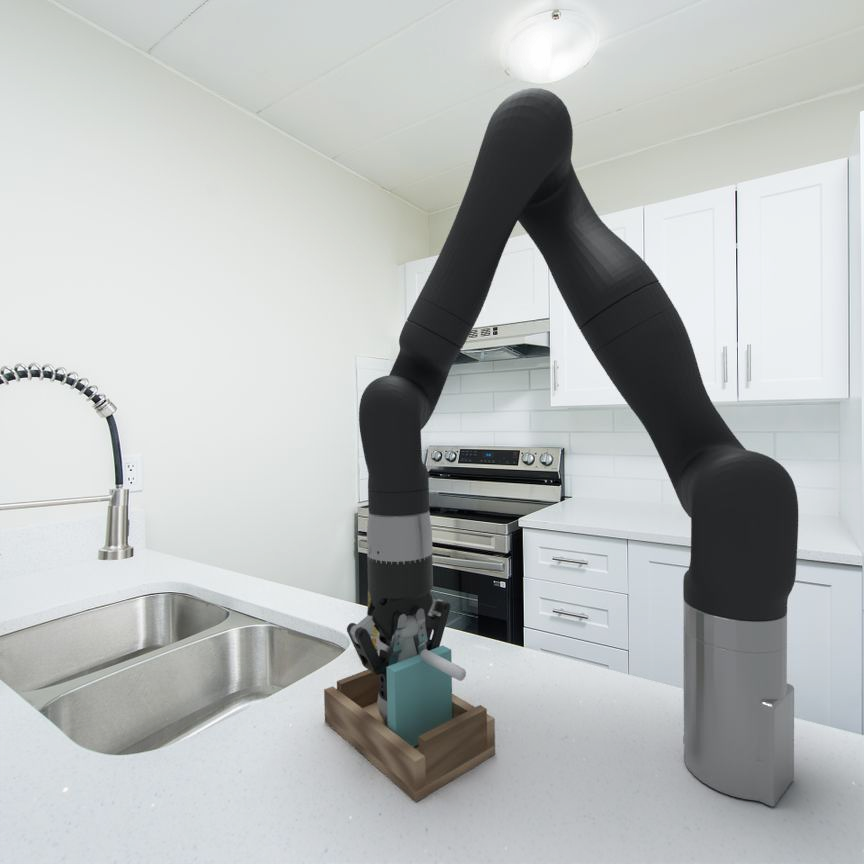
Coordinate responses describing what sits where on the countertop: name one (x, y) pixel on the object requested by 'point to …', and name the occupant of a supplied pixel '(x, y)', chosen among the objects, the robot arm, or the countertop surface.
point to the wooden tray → (403, 764)
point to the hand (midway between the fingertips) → (403, 696)
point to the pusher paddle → (421, 693)
